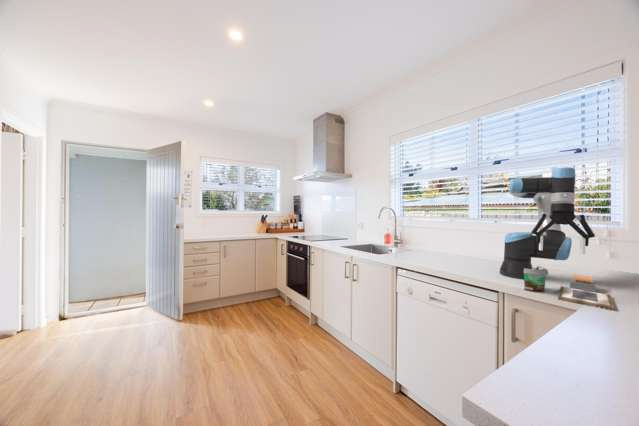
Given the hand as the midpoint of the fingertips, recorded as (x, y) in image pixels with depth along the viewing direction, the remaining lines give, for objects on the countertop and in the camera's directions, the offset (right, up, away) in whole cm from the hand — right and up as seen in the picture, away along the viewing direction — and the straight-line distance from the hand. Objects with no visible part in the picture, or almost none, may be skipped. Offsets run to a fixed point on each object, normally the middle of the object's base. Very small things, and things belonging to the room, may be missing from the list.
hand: (561, 252), depth 112 cm
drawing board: (+4, -18, -6) cm, 19 cm away
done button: (+17, -16, +7) cm, 24 cm away
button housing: (+17, -18, +7) cm, 25 cm away
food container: (-7, -18, +3) cm, 20 cm away
